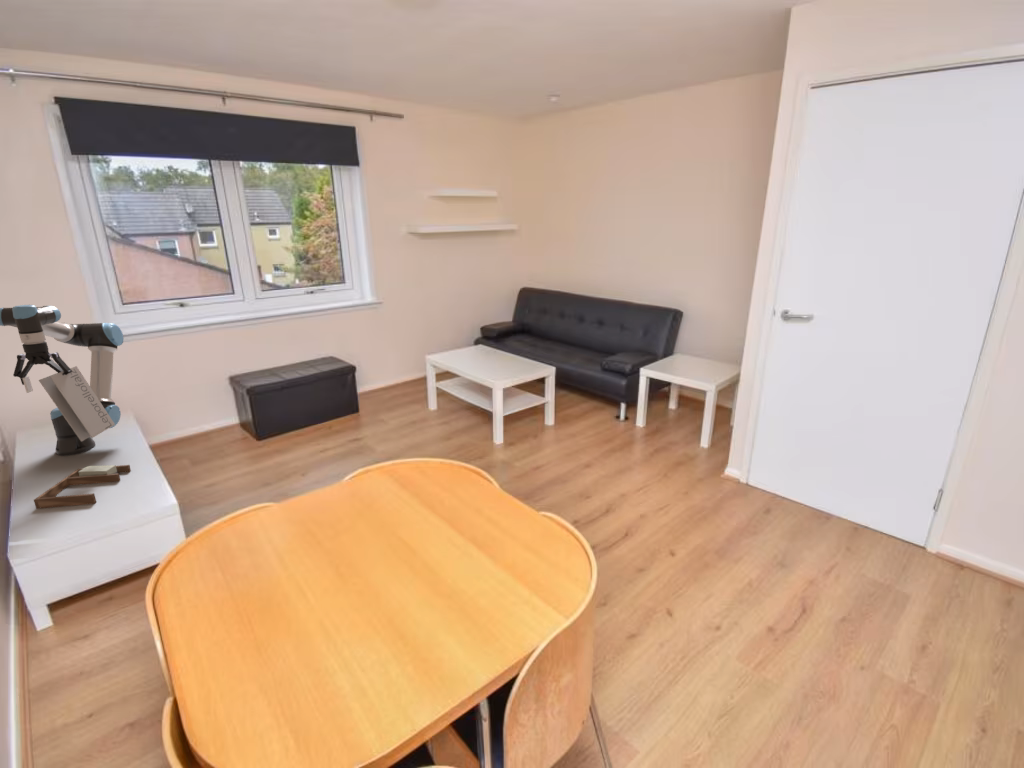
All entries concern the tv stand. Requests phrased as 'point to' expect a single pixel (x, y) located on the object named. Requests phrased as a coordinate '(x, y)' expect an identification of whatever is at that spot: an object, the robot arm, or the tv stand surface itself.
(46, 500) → the rack
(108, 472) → the offcut upper
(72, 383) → the brochure
